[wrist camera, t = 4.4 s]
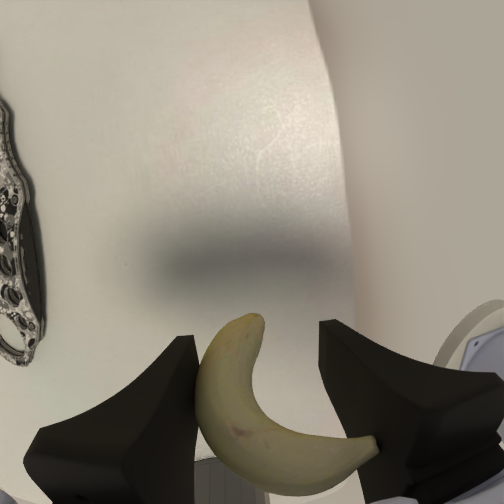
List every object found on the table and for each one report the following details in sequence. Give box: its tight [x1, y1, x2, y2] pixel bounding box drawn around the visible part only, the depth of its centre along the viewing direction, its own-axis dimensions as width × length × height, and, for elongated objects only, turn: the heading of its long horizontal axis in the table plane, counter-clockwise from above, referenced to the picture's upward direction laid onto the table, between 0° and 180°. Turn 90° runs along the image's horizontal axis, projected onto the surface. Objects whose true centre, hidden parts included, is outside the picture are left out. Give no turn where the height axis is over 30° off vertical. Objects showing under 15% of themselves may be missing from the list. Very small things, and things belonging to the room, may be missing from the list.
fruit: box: [194, 313, 380, 496], centre depth 9 cm, size 4×8×2 cm
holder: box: [194, 458, 270, 504], centre depth 23 cm, size 8×8×6 cm
